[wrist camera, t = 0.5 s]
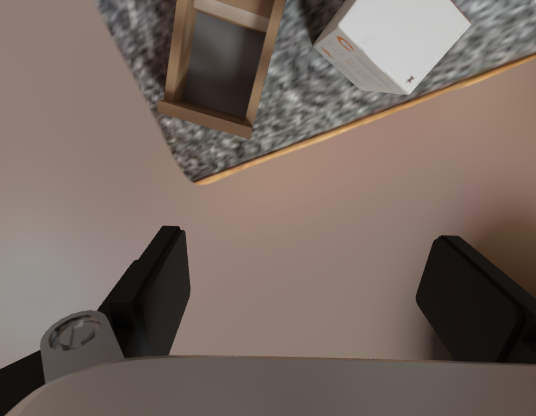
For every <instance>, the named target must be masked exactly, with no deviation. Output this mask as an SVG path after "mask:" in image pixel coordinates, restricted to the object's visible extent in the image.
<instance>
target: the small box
mask: <svg viewBox="0 0 536 416" xmlns="http://www.w3.org/2000/svg"><path fill="white" fill-rule="evenodd" d="M470 25H471V22H470V21H469V20H468V19H467V17H466V16H465V15H464V14H463V13H462V12H461V11H460V9H459V8H458V7H457V6H456V5H455V4H454V2H453V1H452V0H345V1H344V3H343V4H342V5H341V7H340V8H339V10H338V11H337V12H336V14H335V15H334V16H333V18H332V19H331V21H330V22H329V23H328V25H327V26H326V27H325V29H324V30H323V32H322V33H321V34H320V36H319V37H318V39H317V40H316V41H315V43H314V44H313V47H314V48H315V49H316V50H317V51H318V52H319V53H320V54H322V55H323V56H324V57H325V58H326V59H327V60H328V61H329V62H330V63H331V64H332V65H333V66H335V67H336V68H337V69H338V70H339V71H340V72H341V73H342V74H343V75H344V76H346V77H347V78H348V79H349V80H350V81H351V82H352V83H353V84H354V85H356V86H357V87H358V88H359V89H360V90H366V91H377V92H386V93H396V94H406V95H409V94H410V93H411V92H412V91H413V90H414V88H415V87H416V86H417V85H418V84H419V83H420V81H421V80H422V79H423V78H424V77H425V76H426V75H427V73H428V72H429V71H430V70H431V69H432V68H433V67H434V66H435V65H436V63H437V62H438V61H439V60H440V59H441V58H442V57H443V55H444V54H445V53H446V52H447V51H448V50H449V49H450V48H451V46H452V45H453V44H454V43H455V42H456V41H457V40H458V39H459V38H460V36H461V35H462V34H463V33H464V32H465V31H466V30H467V29H468V27H469V26H470Z"/></svg>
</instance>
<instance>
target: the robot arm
mask: <svg viewBox="0 0 536 416" xmlns="http://www.w3.org/2000/svg"><path fill="white" fill-rule="evenodd" d="M189 297H190V279H189V267H188V256H187V246H186V234H185V231H184V230H180V227H179V226H162V227H161V229H160V230H159V231H158V233H157V234H156V236H155V237H154V238H153V240H152V241H151V243H150V244H149V245H148V247H147V248H146V250H145V251H144V252H143V254H142V255H141V257H140V258H139V259H138V260H135V261H134V262H133V263H132V264H131V265H130V266H129V268H128V269H127V270H126V272H125V273H124V275H123V276H122V277H121V279H120V280H119V281H118V283H117V284H116V285H115V287H114V288H113V289H112V291H111V292H110V293H109V295H108V296H107V297H106V299H105V300H104V301H103V303H102V304H101V306H100V307H99V308H98V310H97V311H92V310H89V311H81V312H78V313H74V314H71V315H69V316H67V317H65V318H63V319H61V320H59V321H58V322H56V323H55V324H54V325H52V326H51V327H50V328H49V329H48V330H47V331H46V332H45V334H44V335H43V337H42V339H41V344H40V349H41V350H39V351H37V352H35V353H33V354H31V355H29V356H27V357H25V358H23V359H20V360H18V361H16V362H14V363H12V364H10V365H8V366H6V367H4V368H2V369H0V416H536V299H535V298H534V297H533V296H532V295H530V294H529V293H528V292H527V291H525V290H524V289H523V288H522V287H521V286H519V285H518V284H517V283H516V282H515V281H513V280H512V279H511V278H510V277H508V276H507V275H506V274H505V273H503V272H502V271H501V270H500V269H498V268H497V267H496V266H495V265H494V264H493V263H491V262H490V261H489V260H488V259H486V258H485V257H484V256H483V255H482V254H480V253H479V252H478V251H477V250H475V249H474V248H473V247H472V246H471V245H469V244H468V243H467V242H466V241H464V240H463V239H462V238H461V237H459V236H447V235H441V236H439V237H438V239H436V240H434V242H433V244H432V247H431V251H430V254H429V257H428V260H427V263H426V266H425V269H424V272H423V275H422V278H421V281H420V284H419V287H418V291H417V294H416V302H417V304H418V306H419V308H420V309H421V310H422V312H423V314H424V315H425V317H426V318H427V320H428V321H429V323H430V324H431V326H432V327H433V329H434V330H435V331H436V333H437V335H438V336H439V338H440V339H441V341H442V342H443V344H444V345H445V347H446V348H447V350H448V351H449V353H450V354H451V356H452V357H453V359H454V360H455V361H430V360H394V359H360V358H322V357H321V358H320V357H275V356H272V357H271V356H225V355H224V356H223V355H169V353H170V349H171V347H172V344H173V341H174V339H175V336H176V333H177V330H178V328H179V325H180V322H181V319H182V316H183V314H184V311H185V308H186V305H187V302H188V300H189Z"/></svg>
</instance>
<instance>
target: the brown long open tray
mask: <svg viewBox="0 0 536 416" xmlns="http://www.w3.org/2000/svg"><path fill="white" fill-rule="evenodd" d="M285 2H286V0H177V3H176V10H175V18H174V25H173V33H172V41H171V48H170V56H169V63H168V71H167V79H166V86H165V94H164V100H159V104H158V113H162V114H165V115H169V116H172V117H175V118H179V119H182V120H186V121H189V122H192V123H196V124H199V125H203V126H206V127H210V128H213V129H216V130H220V131H223V132H227V133H230V134H234V135H237V136H240V137H244V138H247V139H249V138H250V135H251V131H252V128H253V124H254V120H255V117H256V113H257V109H258V105H259V101H260V97H261V94H262V90H263V86H264V82H265V78H266V75H267V71H268V67H269V63H270V59H271V55H272V52H273V48H274V44H275V40H276V36H277V33H278V29H279V25H280V21H281V17H282V14H283V10H284V6H285Z"/></svg>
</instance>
